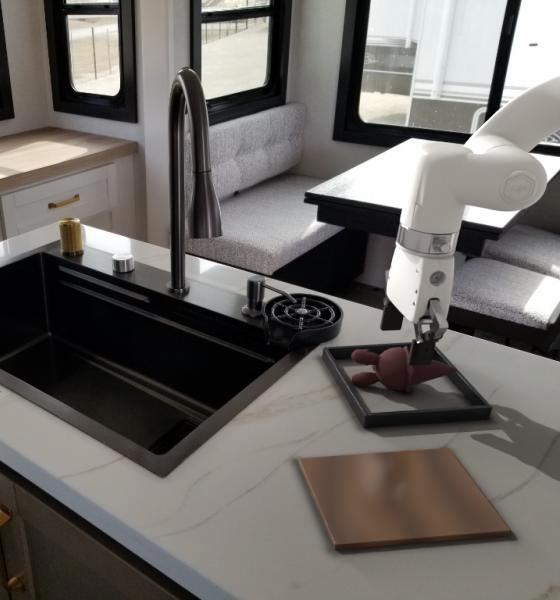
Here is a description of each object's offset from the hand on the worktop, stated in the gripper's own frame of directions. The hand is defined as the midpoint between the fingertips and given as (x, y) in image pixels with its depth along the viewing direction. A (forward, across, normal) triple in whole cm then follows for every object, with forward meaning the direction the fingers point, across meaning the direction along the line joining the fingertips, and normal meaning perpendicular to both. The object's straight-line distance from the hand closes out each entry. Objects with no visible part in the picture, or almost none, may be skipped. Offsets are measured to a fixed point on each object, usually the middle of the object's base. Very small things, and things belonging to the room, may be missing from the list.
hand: (403, 346), depth 94 cm
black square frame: (+7, 0, 0) cm, 7 cm away
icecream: (+7, 0, -1) cm, 7 cm away
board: (+7, -22, +10) cm, 25 cm away
